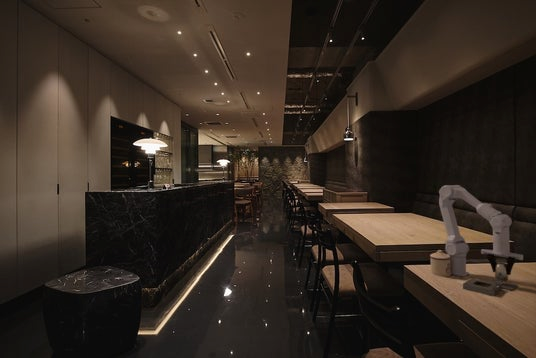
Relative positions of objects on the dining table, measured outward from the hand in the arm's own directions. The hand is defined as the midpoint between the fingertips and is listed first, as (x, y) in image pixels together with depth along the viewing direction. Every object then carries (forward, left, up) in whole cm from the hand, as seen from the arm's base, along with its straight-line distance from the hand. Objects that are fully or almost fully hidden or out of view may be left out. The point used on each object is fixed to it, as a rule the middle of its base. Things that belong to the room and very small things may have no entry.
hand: (501, 273), depth 132 cm
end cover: (0, 0, -3) cm, 3 cm away
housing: (-4, -11, -6) cm, 13 cm away
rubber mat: (0, 0, -6) cm, 6 cm away
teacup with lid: (-25, 0, -6) cm, 25 cm away
